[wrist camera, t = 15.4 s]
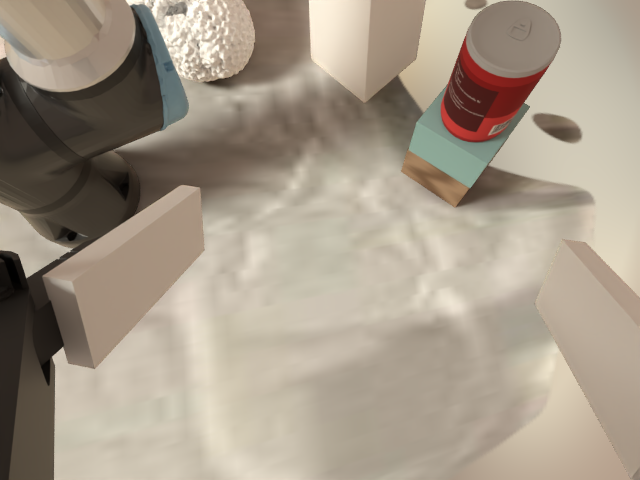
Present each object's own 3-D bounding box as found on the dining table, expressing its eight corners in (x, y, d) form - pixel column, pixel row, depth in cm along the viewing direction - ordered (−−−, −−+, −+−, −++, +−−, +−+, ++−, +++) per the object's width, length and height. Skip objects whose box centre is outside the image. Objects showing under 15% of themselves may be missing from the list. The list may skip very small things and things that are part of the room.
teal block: (408, 149, 49) (416, 121, 43) (447, 101, 51) (460, 68, 45) (470, 188, 47) (487, 163, 41) (508, 136, 49) (530, 106, 43)
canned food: (515, 94, 43) (569, 8, 33) (500, 153, 41) (553, 82, 31) (448, 78, 45) (480, -9, 34) (430, 134, 43) (458, 60, 32)
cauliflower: (91, 2, 56) (110, -103, 44) (185, -11, 67) (222, -98, 55) (175, 119, 60) (216, 52, 47) (252, 88, 71) (302, 27, 58)
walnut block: (401, 171, 55) (407, 149, 49) (437, 128, 56) (447, 101, 51) (454, 207, 52) (468, 188, 47) (490, 161, 54) (508, 137, 49)
